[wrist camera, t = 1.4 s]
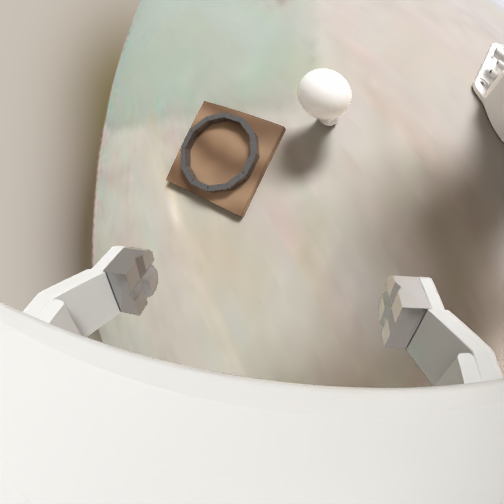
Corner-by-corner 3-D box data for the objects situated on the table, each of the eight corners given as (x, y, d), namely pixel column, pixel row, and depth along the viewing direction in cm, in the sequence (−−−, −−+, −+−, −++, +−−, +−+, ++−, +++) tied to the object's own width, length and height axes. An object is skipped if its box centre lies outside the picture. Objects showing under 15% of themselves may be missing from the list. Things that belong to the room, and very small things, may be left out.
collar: (206, 109, 41) (202, 105, 39) (272, 131, 38) (269, 127, 36) (174, 175, 43) (168, 173, 41) (236, 205, 40) (232, 203, 38)
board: (207, 104, 42) (204, 101, 41) (285, 129, 38) (283, 126, 37) (170, 180, 44) (165, 179, 43) (243, 217, 41) (240, 216, 40)
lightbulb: (298, 114, 38) (281, 76, 27) (333, 92, 36) (327, 50, 26) (323, 147, 37) (315, 116, 27) (360, 125, 35) (363, 87, 25)
